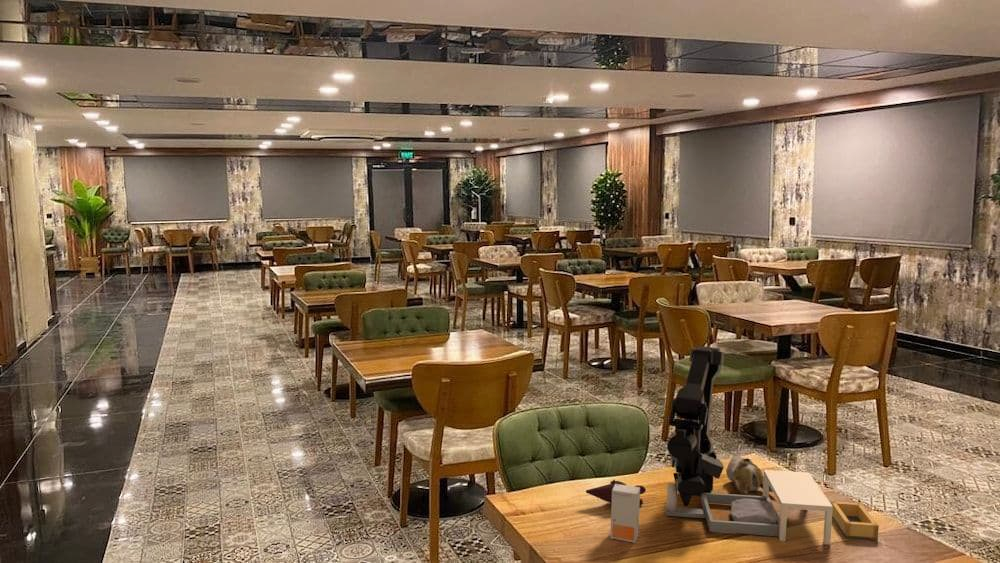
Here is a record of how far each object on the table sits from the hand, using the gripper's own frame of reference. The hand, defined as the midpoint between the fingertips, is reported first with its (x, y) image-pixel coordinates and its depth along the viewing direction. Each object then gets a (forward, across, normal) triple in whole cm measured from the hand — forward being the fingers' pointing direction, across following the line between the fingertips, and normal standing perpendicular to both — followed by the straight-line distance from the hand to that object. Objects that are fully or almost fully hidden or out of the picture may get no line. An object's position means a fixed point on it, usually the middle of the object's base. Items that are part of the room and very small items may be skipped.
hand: (686, 505), depth 177 cm
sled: (+2, 0, -8) cm, 8 cm away
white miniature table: (+3, 0, -26) cm, 26 cm away
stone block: (+3, 0, -16) cm, 16 cm away
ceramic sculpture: (+3, +19, -18) cm, 27 cm away
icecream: (+3, +3, +17) cm, 18 cm away
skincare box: (+3, -14, +15) cm, 21 cm away
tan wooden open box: (+3, 0, -39) cm, 39 cm away
